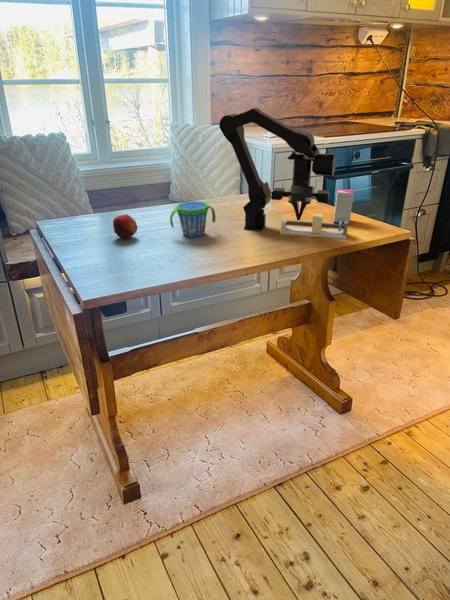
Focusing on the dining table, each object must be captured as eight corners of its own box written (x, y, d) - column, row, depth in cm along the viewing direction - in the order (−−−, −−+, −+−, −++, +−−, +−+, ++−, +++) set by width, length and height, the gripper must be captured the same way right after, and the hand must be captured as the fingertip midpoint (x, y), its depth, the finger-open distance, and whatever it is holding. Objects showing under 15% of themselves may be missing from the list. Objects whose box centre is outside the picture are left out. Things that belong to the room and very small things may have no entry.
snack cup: (173, 241, 153) (171, 211, 149) (168, 231, 162) (167, 202, 158) (219, 237, 157) (218, 207, 152) (212, 227, 166) (211, 199, 161)
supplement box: (350, 224, 168) (353, 193, 163) (333, 223, 169) (336, 192, 164) (349, 219, 173) (353, 189, 168) (333, 218, 174) (336, 188, 169)
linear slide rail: (280, 234, 159) (281, 220, 157) (282, 228, 164) (283, 215, 162) (346, 239, 154) (347, 225, 152) (346, 233, 160) (348, 219, 157)
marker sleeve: (311, 232, 157) (312, 218, 155) (312, 228, 161) (314, 213, 159) (320, 233, 156) (322, 218, 154) (321, 228, 160) (322, 214, 158)
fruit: (141, 235, 159) (139, 212, 155) (131, 243, 152) (129, 219, 148) (120, 233, 160) (118, 211, 157) (110, 241, 154) (107, 217, 150)
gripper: (269, 177, 146) (267, 225, 154) (329, 180, 142) (325, 229, 149) (274, 170, 156) (272, 215, 163) (331, 173, 152) (326, 219, 159)
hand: (298, 220), depth 158 cm, fingers closed
